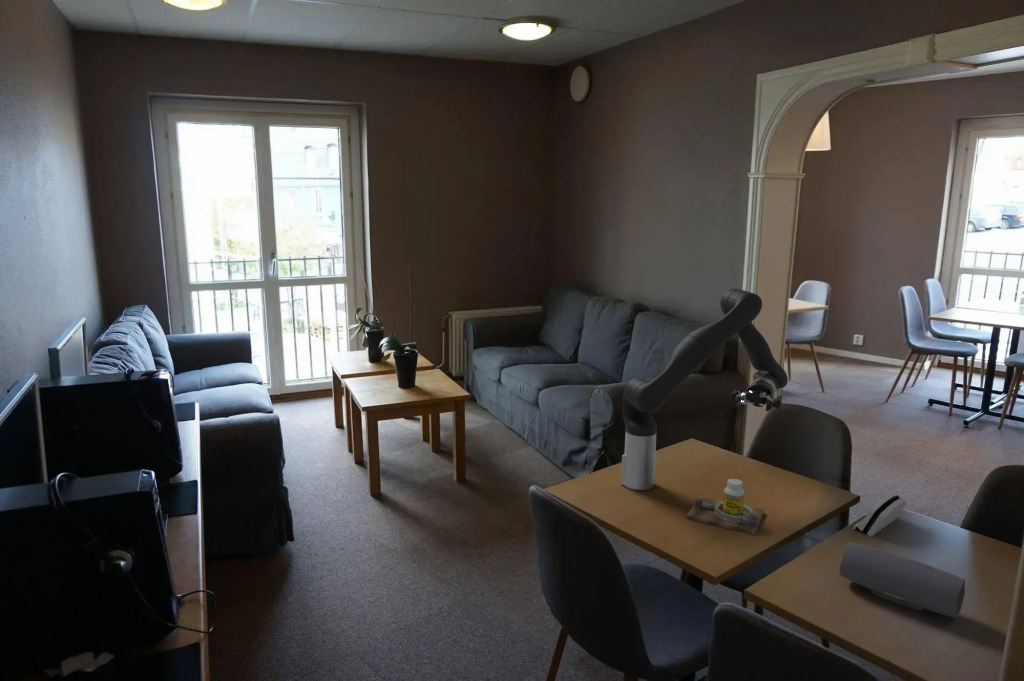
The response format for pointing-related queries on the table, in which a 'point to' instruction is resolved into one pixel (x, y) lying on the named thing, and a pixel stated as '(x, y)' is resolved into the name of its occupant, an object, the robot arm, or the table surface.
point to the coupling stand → (725, 515)
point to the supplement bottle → (733, 498)
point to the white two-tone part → (882, 514)
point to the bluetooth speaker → (903, 579)
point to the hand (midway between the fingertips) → (751, 405)
